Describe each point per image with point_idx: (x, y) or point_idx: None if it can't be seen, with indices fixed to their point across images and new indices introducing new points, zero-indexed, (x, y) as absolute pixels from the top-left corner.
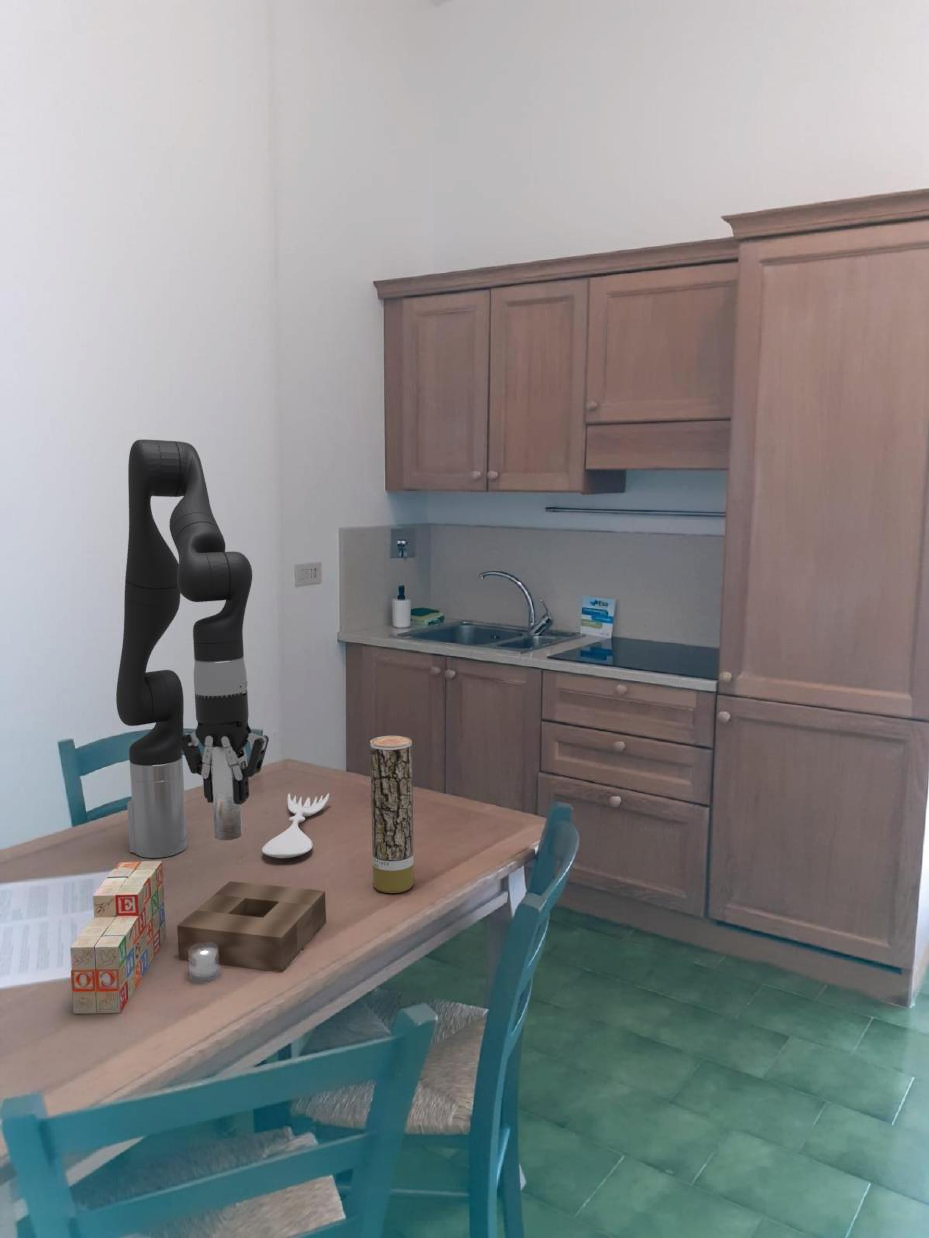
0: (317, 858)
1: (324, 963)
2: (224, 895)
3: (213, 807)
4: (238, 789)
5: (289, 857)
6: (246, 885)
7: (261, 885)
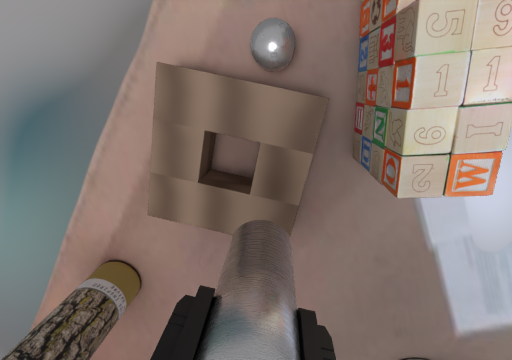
0: None
1: (135, 91)
2: (282, 202)
3: (291, 288)
4: (185, 327)
5: None
6: None
7: None
